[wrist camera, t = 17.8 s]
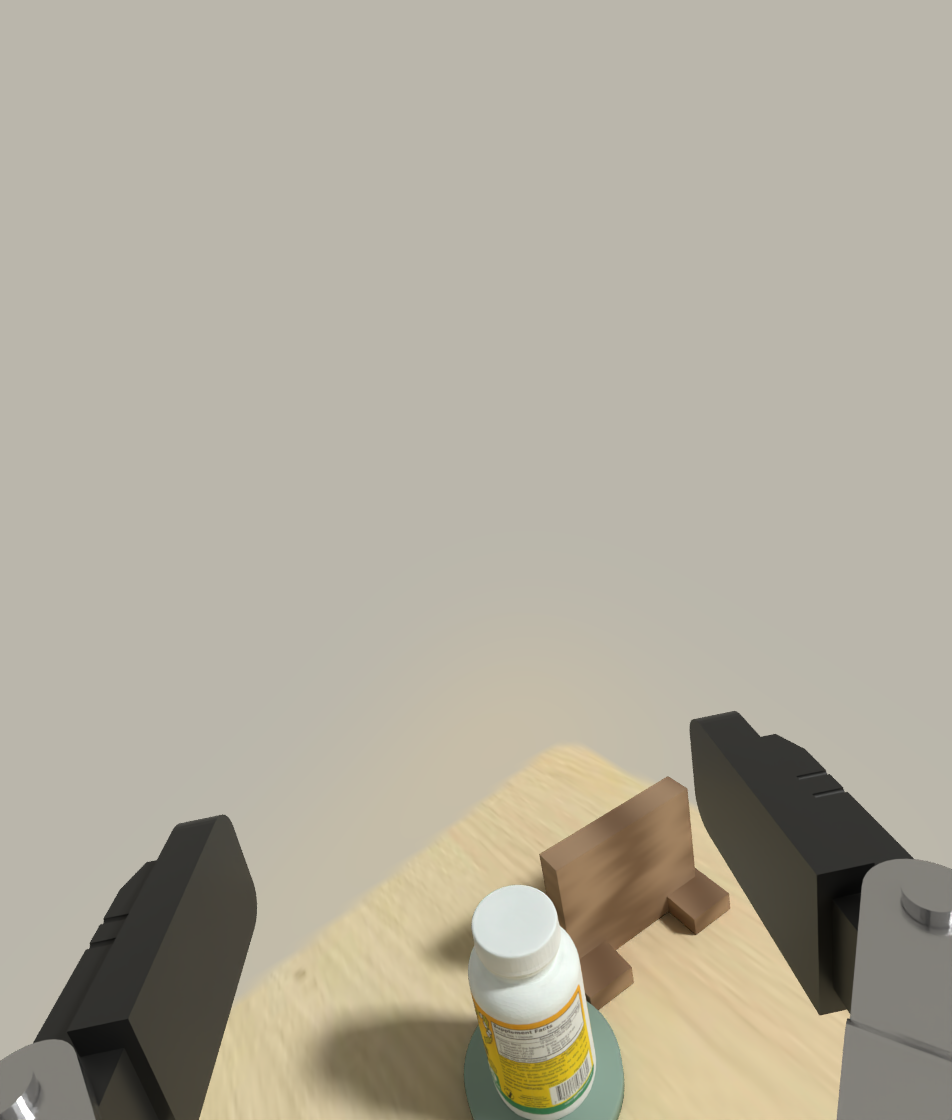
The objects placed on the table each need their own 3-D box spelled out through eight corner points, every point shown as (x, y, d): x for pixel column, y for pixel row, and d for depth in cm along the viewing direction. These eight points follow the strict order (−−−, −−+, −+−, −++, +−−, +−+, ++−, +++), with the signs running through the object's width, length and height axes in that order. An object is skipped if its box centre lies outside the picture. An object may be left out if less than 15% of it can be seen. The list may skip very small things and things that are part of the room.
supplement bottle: (593, 1135, 29) (564, 978, 26) (480, 1117, 31) (441, 967, 28) (600, 1018, 34) (577, 875, 31) (502, 1007, 36) (471, 870, 33)
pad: (436, 1110, 32) (432, 1097, 32) (518, 978, 38) (516, 965, 38) (579, 1212, 28) (576, 1197, 27) (648, 1043, 34) (646, 1029, 33)
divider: (592, 1014, 36) (573, 901, 33) (531, 939, 41) (511, 837, 38) (730, 908, 40) (722, 802, 38) (659, 853, 45) (648, 757, 43)
